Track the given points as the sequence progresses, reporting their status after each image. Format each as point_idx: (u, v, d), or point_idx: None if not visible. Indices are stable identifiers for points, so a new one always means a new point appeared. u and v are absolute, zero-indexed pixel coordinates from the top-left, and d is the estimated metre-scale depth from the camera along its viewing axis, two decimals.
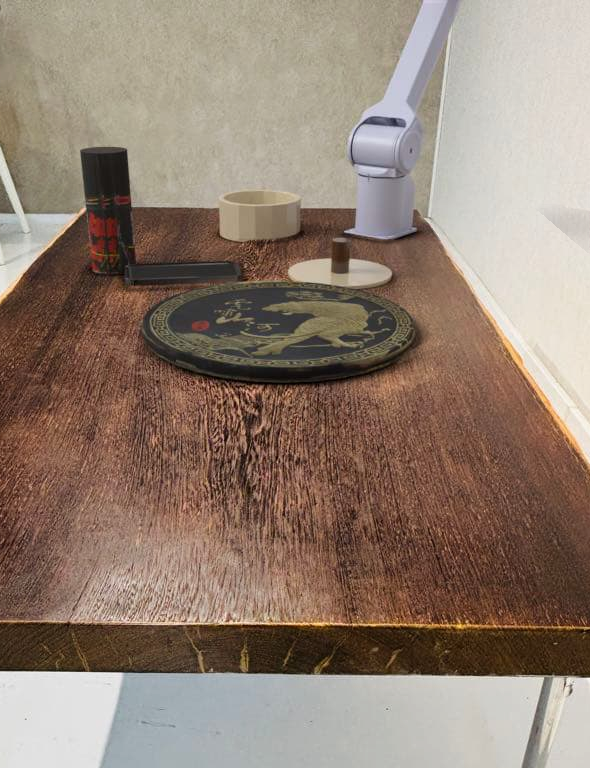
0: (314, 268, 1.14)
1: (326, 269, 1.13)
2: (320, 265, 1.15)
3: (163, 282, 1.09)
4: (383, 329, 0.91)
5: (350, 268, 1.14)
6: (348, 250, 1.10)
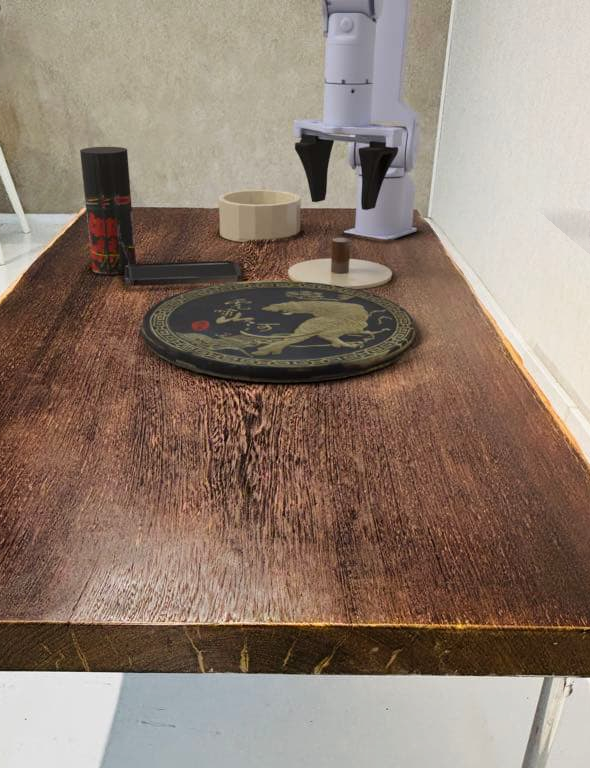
0: (314, 268, 1.14)
1: (326, 269, 1.13)
2: (320, 265, 1.15)
3: (163, 282, 1.09)
4: (383, 329, 0.91)
5: (350, 268, 1.14)
6: (348, 250, 1.10)
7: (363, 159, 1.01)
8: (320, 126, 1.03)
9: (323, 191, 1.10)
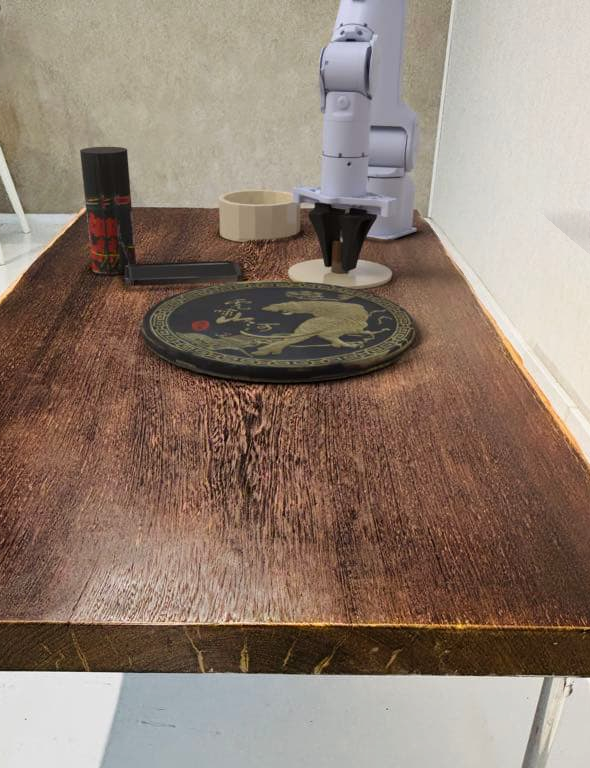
0: (314, 268, 1.13)
1: (326, 269, 1.13)
2: (320, 265, 1.15)
3: (163, 282, 1.09)
4: (383, 329, 0.91)
5: None
6: None
7: (343, 225, 1.06)
8: (318, 195, 1.07)
9: None
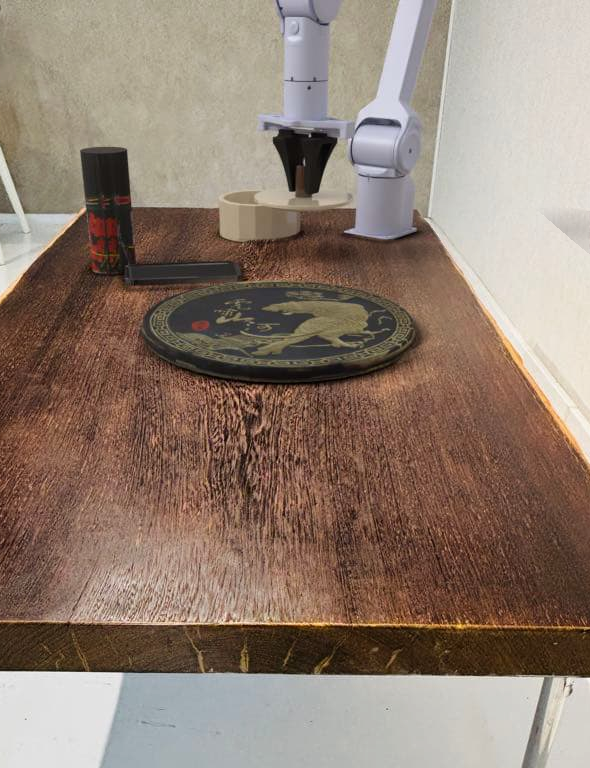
0: (279, 194, 1.19)
1: (291, 194, 1.19)
2: (285, 192, 1.21)
3: (163, 282, 1.09)
4: (383, 329, 0.91)
5: None
6: None
7: (305, 148, 1.12)
8: (281, 120, 1.12)
9: None
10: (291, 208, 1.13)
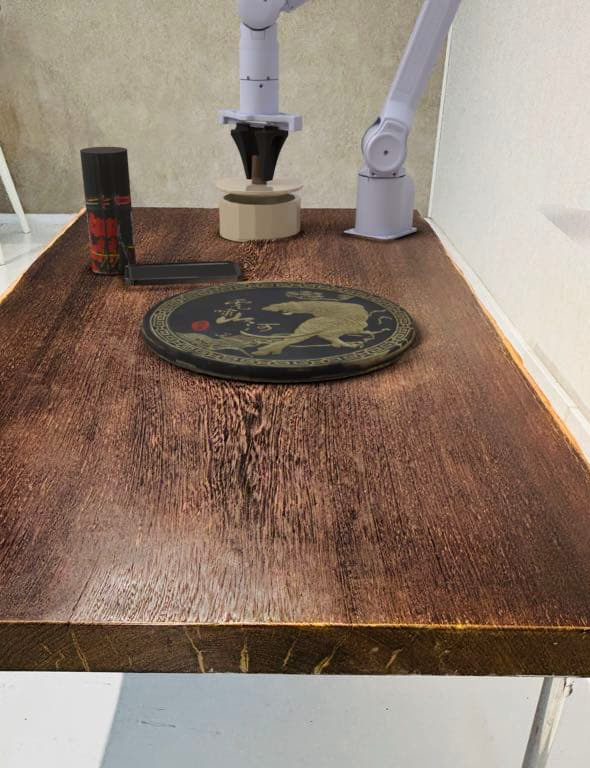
0: (238, 181, 1.33)
1: (248, 182, 1.32)
2: (244, 179, 1.34)
3: (163, 282, 1.09)
4: (383, 329, 0.91)
5: (269, 181, 1.33)
6: None
7: (259, 140, 1.25)
8: (237, 114, 1.26)
9: None
10: (246, 193, 1.26)
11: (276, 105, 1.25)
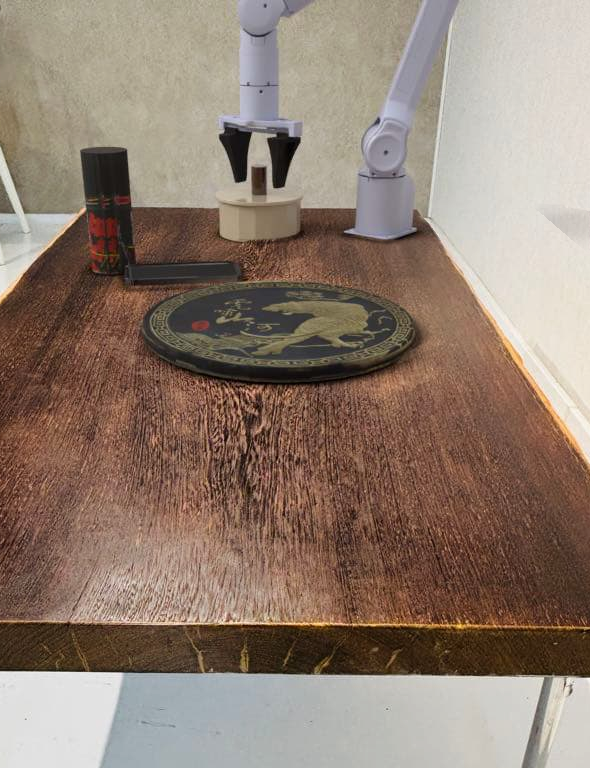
0: (238, 192, 1.33)
1: (248, 192, 1.33)
2: (244, 190, 1.35)
3: (163, 282, 1.09)
4: (383, 329, 0.91)
5: (269, 192, 1.33)
6: (265, 174, 1.30)
7: (271, 147, 1.25)
8: (237, 120, 1.26)
9: (244, 173, 1.33)
10: (246, 204, 1.27)
11: (276, 111, 1.25)
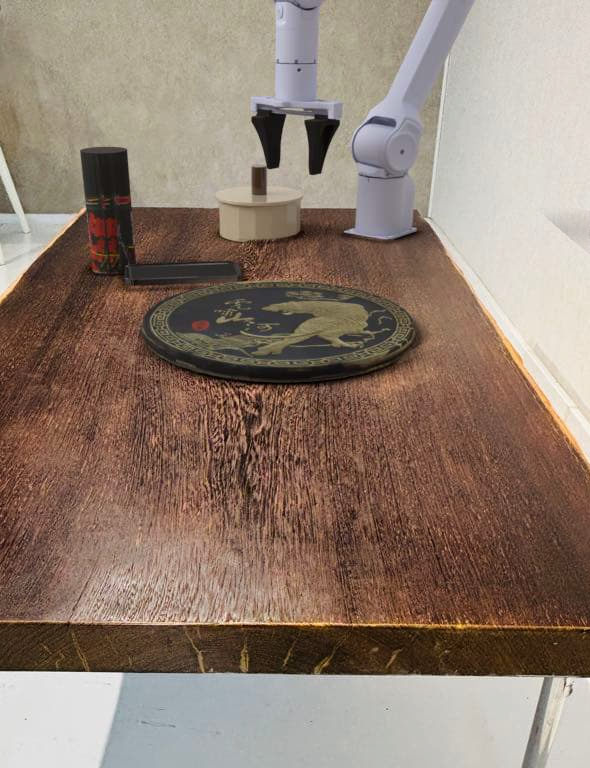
0: (238, 192, 1.33)
1: (248, 192, 1.33)
2: (244, 190, 1.35)
3: (163, 282, 1.09)
4: (383, 329, 0.91)
5: (269, 192, 1.33)
6: (265, 174, 1.30)
7: (309, 129, 1.16)
8: (272, 101, 1.18)
9: (277, 159, 1.25)
10: (246, 204, 1.27)
11: (314, 91, 1.16)
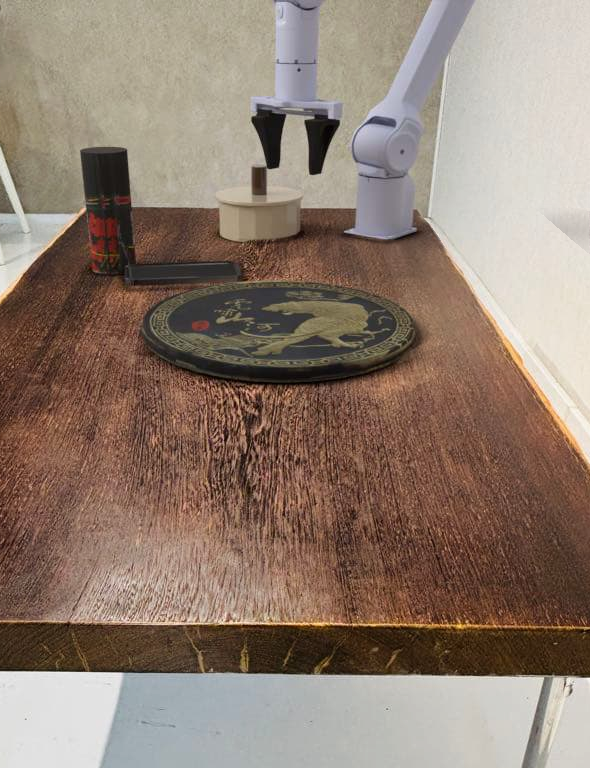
0: (238, 192, 1.33)
1: (248, 192, 1.33)
2: (244, 190, 1.35)
3: (163, 282, 1.09)
4: (383, 329, 0.91)
5: (269, 192, 1.33)
6: (265, 174, 1.30)
7: (309, 129, 1.16)
8: (272, 101, 1.18)
9: (277, 159, 1.25)
10: (246, 204, 1.27)
11: (314, 91, 1.16)
